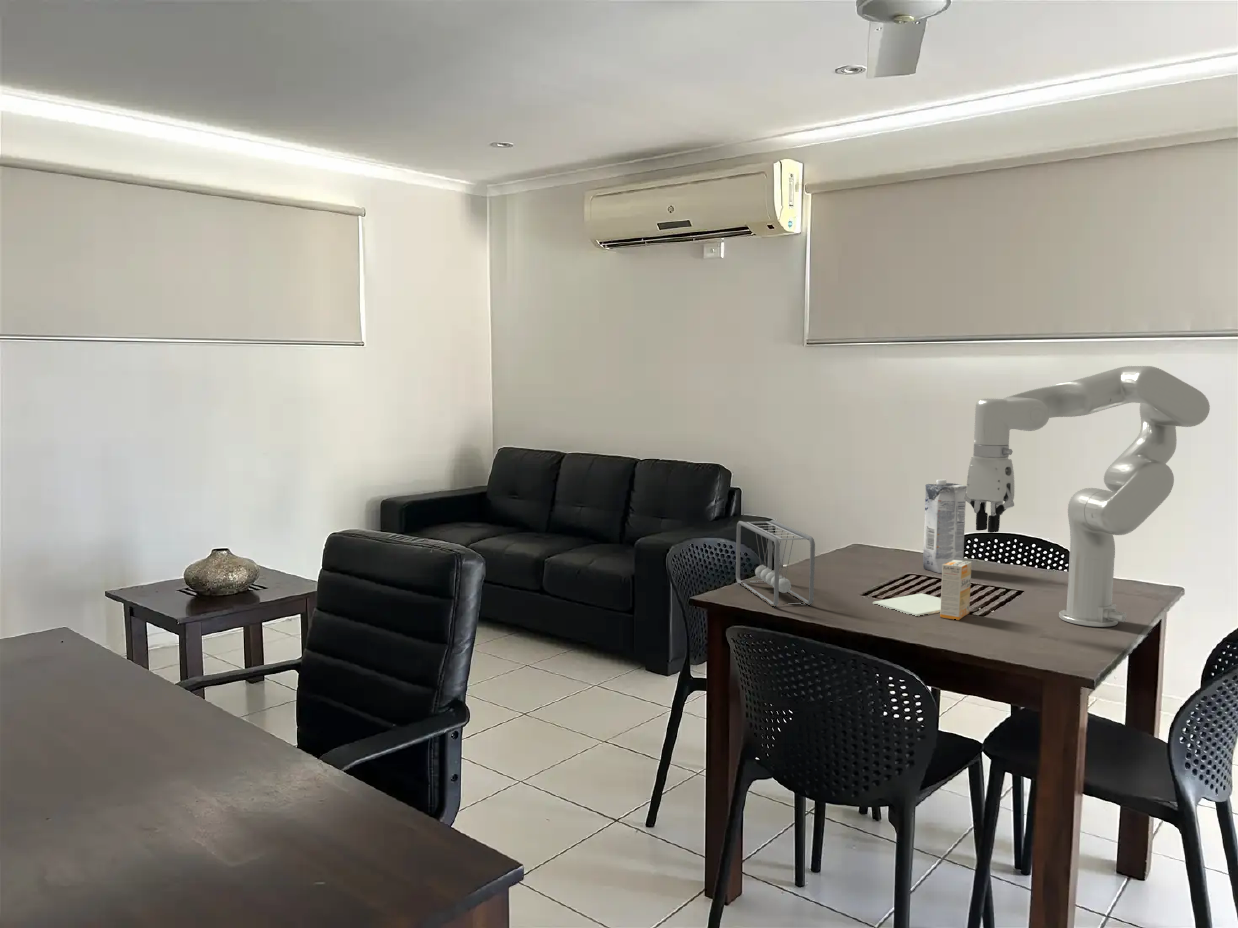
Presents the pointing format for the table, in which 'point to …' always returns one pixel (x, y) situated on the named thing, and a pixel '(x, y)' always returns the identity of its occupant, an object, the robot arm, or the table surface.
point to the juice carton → (943, 524)
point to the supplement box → (955, 589)
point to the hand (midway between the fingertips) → (987, 530)
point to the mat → (913, 604)
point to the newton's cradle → (767, 573)
